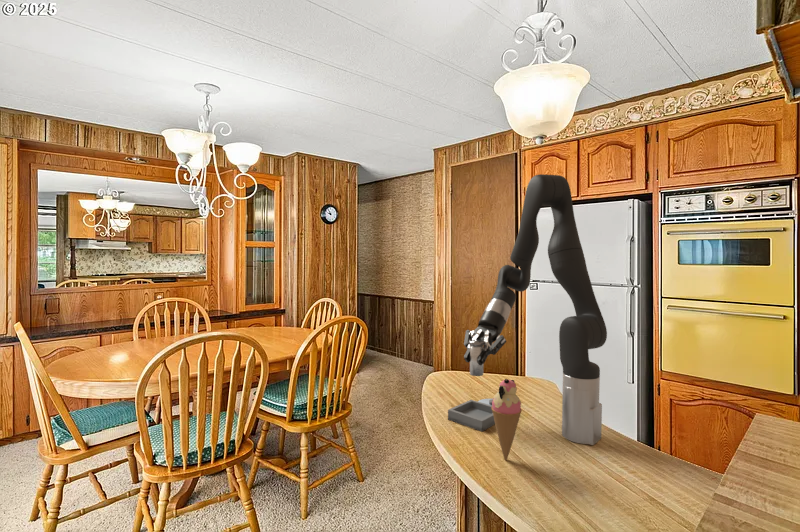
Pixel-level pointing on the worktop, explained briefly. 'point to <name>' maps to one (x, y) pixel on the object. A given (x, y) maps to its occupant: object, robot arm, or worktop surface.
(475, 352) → the salt shaker
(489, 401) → the pot lid
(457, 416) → the tray
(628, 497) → the worktop surface
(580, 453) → the worktop surface
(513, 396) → the ice cream cone
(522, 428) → the worktop surface
